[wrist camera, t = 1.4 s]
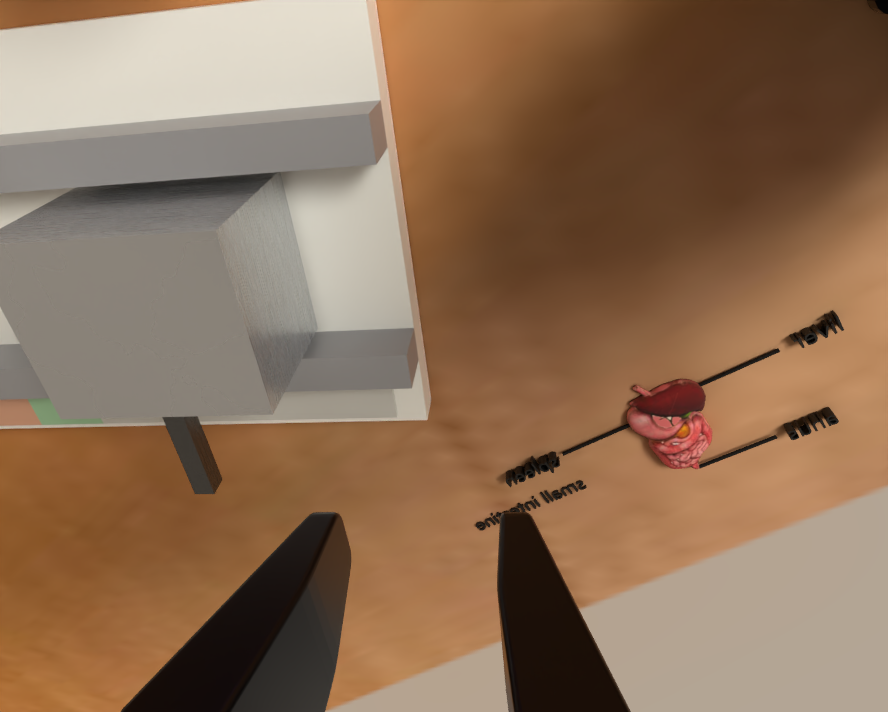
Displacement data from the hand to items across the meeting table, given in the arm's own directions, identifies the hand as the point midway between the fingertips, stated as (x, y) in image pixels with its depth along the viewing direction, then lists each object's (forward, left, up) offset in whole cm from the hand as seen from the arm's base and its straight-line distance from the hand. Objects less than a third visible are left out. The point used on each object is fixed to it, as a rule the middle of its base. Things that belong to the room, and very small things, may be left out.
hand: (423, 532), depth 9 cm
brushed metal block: (+8, +2, -11) cm, 13 cm away
